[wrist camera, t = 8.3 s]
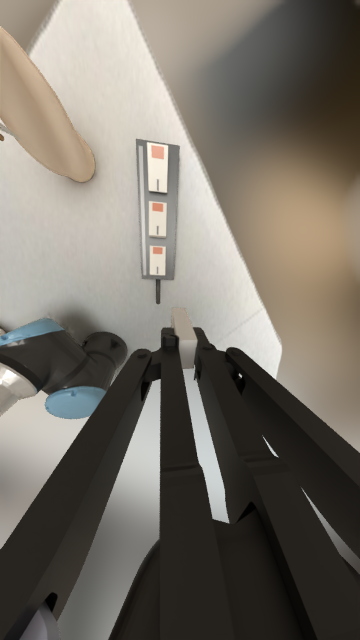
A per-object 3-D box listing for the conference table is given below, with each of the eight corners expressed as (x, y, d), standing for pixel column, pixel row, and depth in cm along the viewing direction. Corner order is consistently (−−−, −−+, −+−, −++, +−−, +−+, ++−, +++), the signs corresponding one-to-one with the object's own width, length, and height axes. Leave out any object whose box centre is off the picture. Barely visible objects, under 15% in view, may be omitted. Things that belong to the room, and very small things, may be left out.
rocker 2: (149, 236, 37) (148, 234, 35) (149, 204, 35) (148, 200, 34) (165, 238, 37) (166, 236, 36) (166, 206, 36) (166, 202, 34)
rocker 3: (150, 275, 40) (149, 274, 39) (150, 247, 39) (149, 245, 38) (165, 275, 41) (165, 275, 39) (165, 248, 40) (165, 246, 38)
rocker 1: (149, 190, 34) (148, 190, 33) (147, 143, 30) (147, 142, 28) (166, 192, 35) (166, 192, 34) (167, 146, 30) (168, 145, 29)
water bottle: (101, 195, 37) (-29, 83, 12) (61, 190, 35) (-183, 50, 10) (95, 135, 32) (-135, -253, 7) (49, 127, 31) (-422, -377, 6)
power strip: (144, 303, 49) (142, 307, 46) (138, 148, 34) (135, 138, 31) (171, 303, 51) (172, 307, 47) (178, 154, 35) (179, 145, 32)
